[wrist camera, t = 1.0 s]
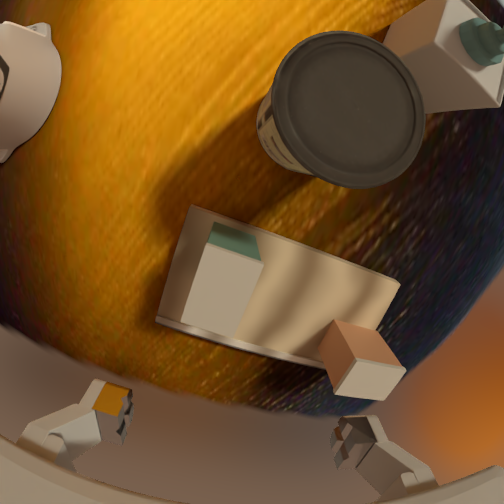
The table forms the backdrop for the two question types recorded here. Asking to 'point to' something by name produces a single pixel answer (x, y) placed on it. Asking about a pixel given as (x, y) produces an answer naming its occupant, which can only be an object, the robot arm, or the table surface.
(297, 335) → the shelf board
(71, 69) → the table surface
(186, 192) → the table surface
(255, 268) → the green tin
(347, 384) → the rust tin
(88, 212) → the table surface
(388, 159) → the coffee can
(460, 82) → the soap bottle
